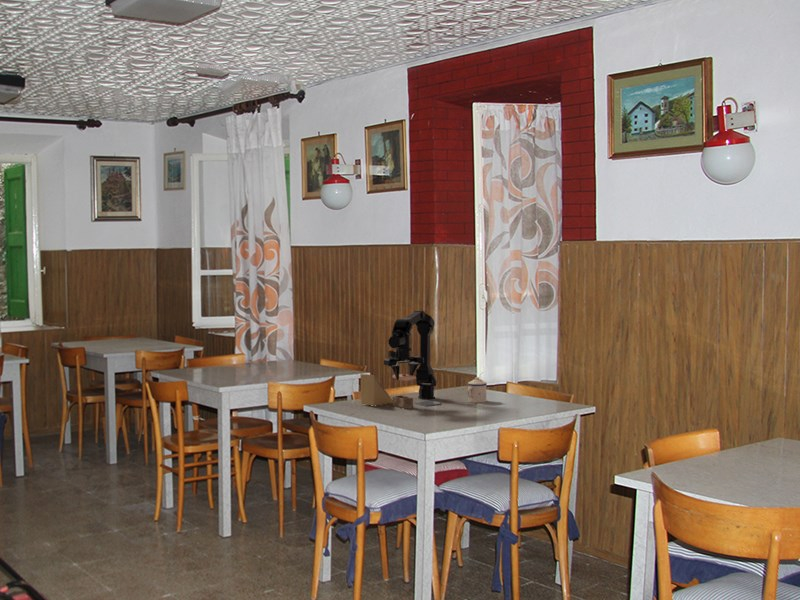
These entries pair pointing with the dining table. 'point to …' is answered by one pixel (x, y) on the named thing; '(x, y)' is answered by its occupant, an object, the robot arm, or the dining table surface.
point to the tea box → (403, 401)
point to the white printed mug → (476, 391)
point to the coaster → (428, 403)
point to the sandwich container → (373, 391)
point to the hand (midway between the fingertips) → (404, 379)
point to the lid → (405, 377)
